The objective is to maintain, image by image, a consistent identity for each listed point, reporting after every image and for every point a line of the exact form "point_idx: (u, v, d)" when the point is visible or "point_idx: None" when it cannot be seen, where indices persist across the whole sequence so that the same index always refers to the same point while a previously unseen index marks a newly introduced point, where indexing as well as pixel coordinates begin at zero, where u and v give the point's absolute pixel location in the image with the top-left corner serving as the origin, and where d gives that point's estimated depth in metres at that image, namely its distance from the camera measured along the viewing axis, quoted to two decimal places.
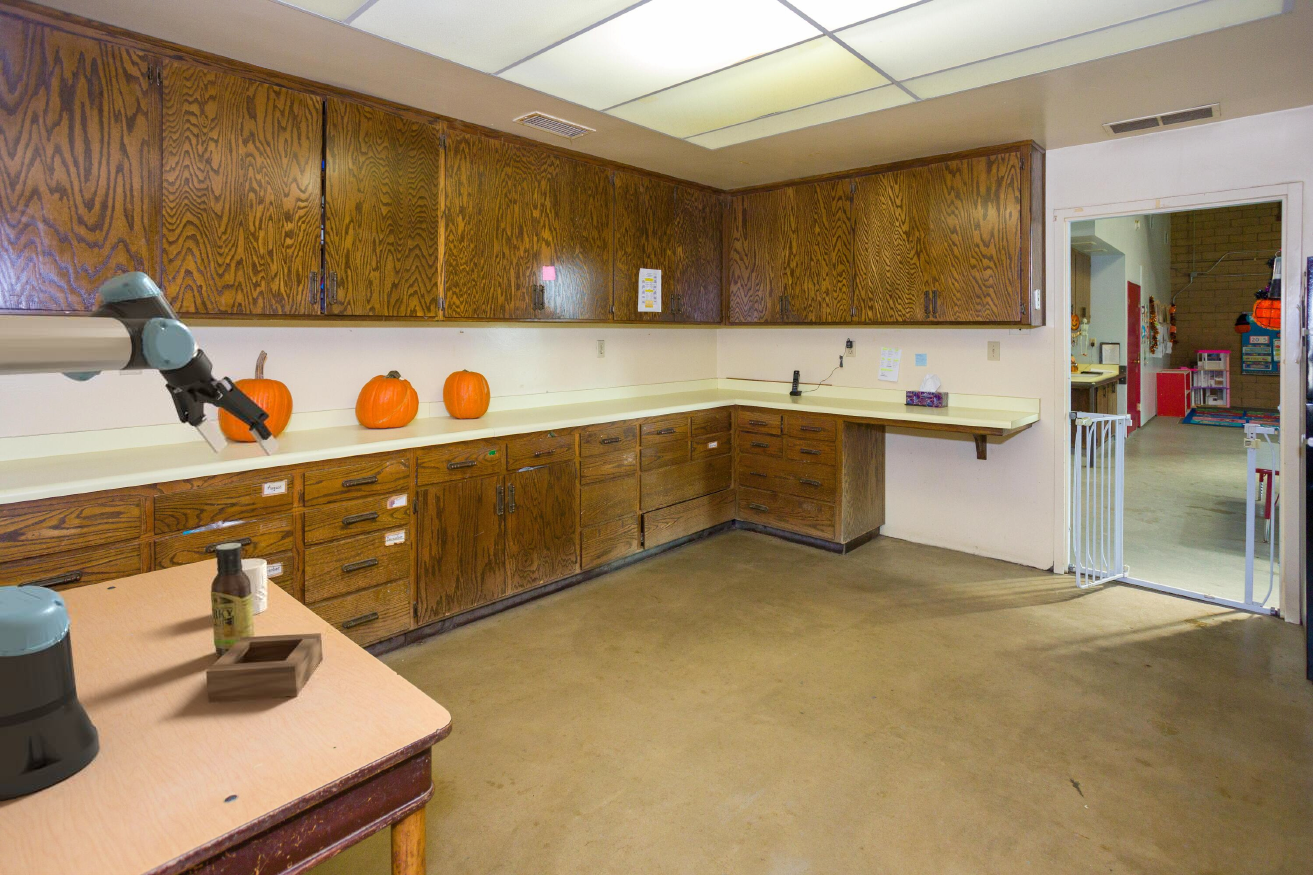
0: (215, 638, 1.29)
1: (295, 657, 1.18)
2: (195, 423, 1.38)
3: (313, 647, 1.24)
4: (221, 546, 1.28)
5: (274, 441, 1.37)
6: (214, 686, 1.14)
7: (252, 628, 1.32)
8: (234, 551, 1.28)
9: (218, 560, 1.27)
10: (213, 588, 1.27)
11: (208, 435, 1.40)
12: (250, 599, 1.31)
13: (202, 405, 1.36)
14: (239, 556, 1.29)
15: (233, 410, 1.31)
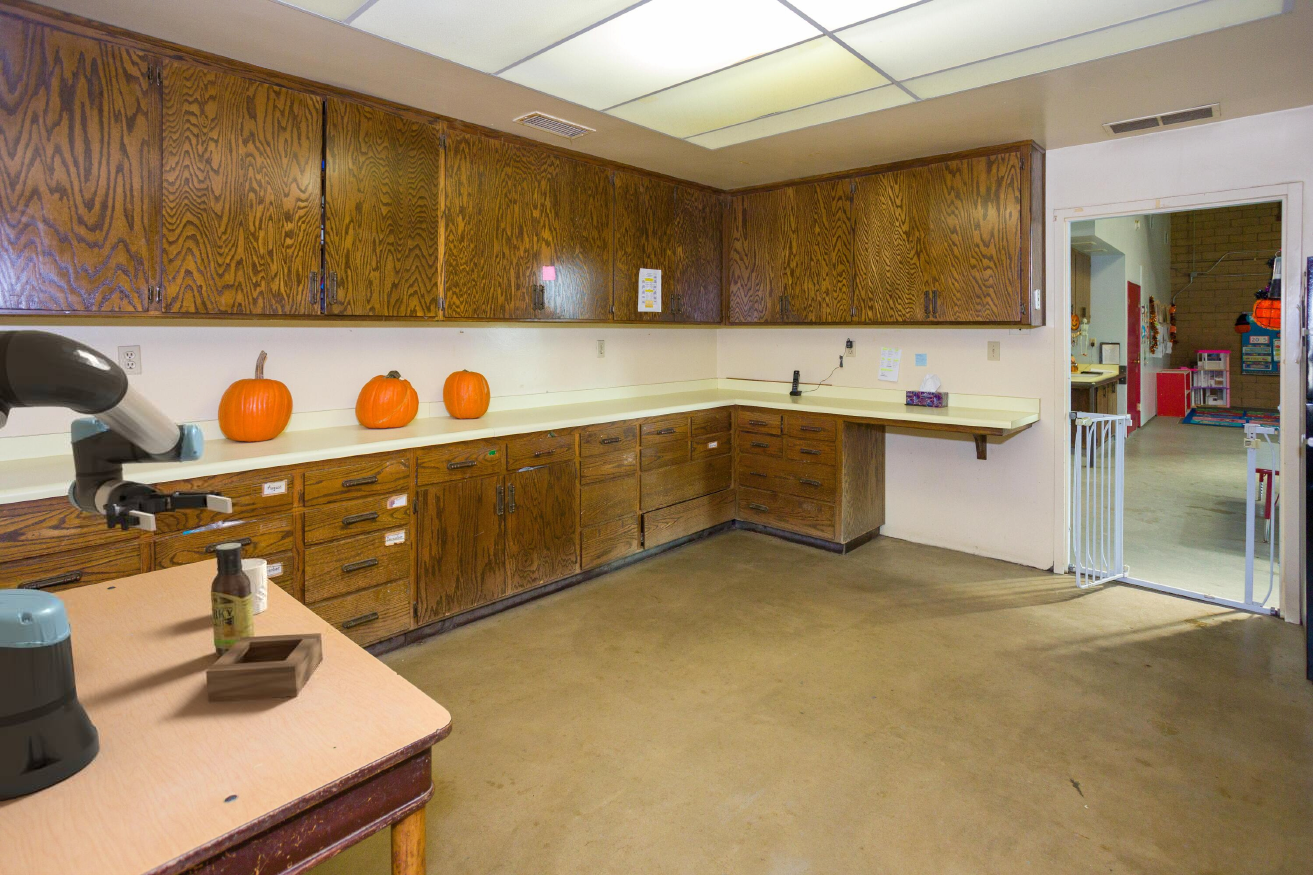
0: (215, 638, 1.29)
1: (295, 657, 1.18)
2: (128, 513, 1.29)
3: (313, 647, 1.24)
4: (221, 546, 1.28)
5: None
6: (214, 686, 1.14)
7: (252, 628, 1.32)
8: (234, 551, 1.28)
9: (218, 560, 1.27)
10: (213, 588, 1.27)
11: None
12: (250, 599, 1.31)
13: None
14: (239, 556, 1.29)
15: None
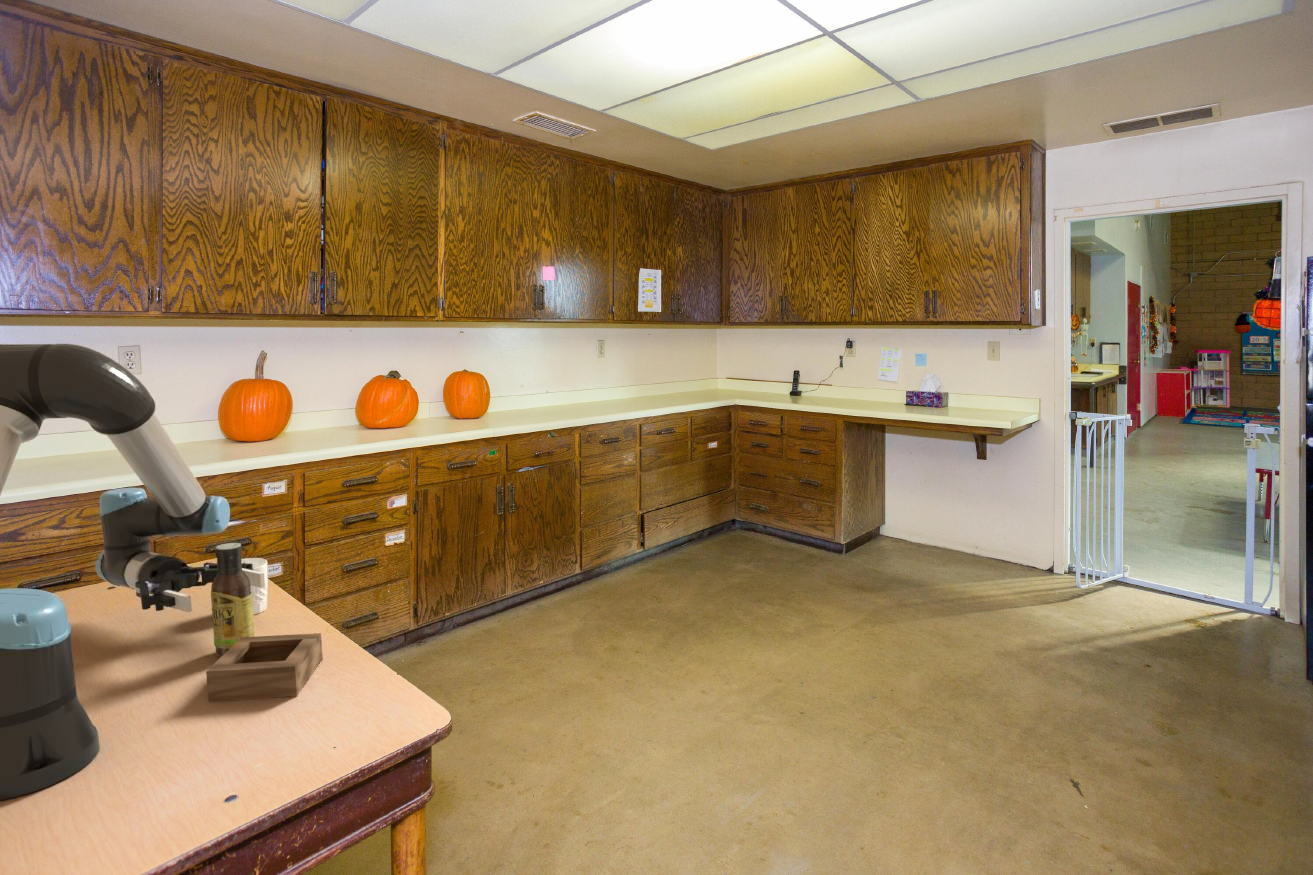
0: (215, 638, 1.29)
1: (295, 657, 1.18)
2: (162, 592, 1.28)
3: (313, 647, 1.24)
4: (221, 546, 1.28)
5: None
6: (214, 686, 1.14)
7: (252, 628, 1.32)
8: (234, 551, 1.28)
9: (218, 560, 1.27)
10: (213, 588, 1.27)
11: None
12: (250, 599, 1.31)
13: None
14: (239, 556, 1.29)
15: None
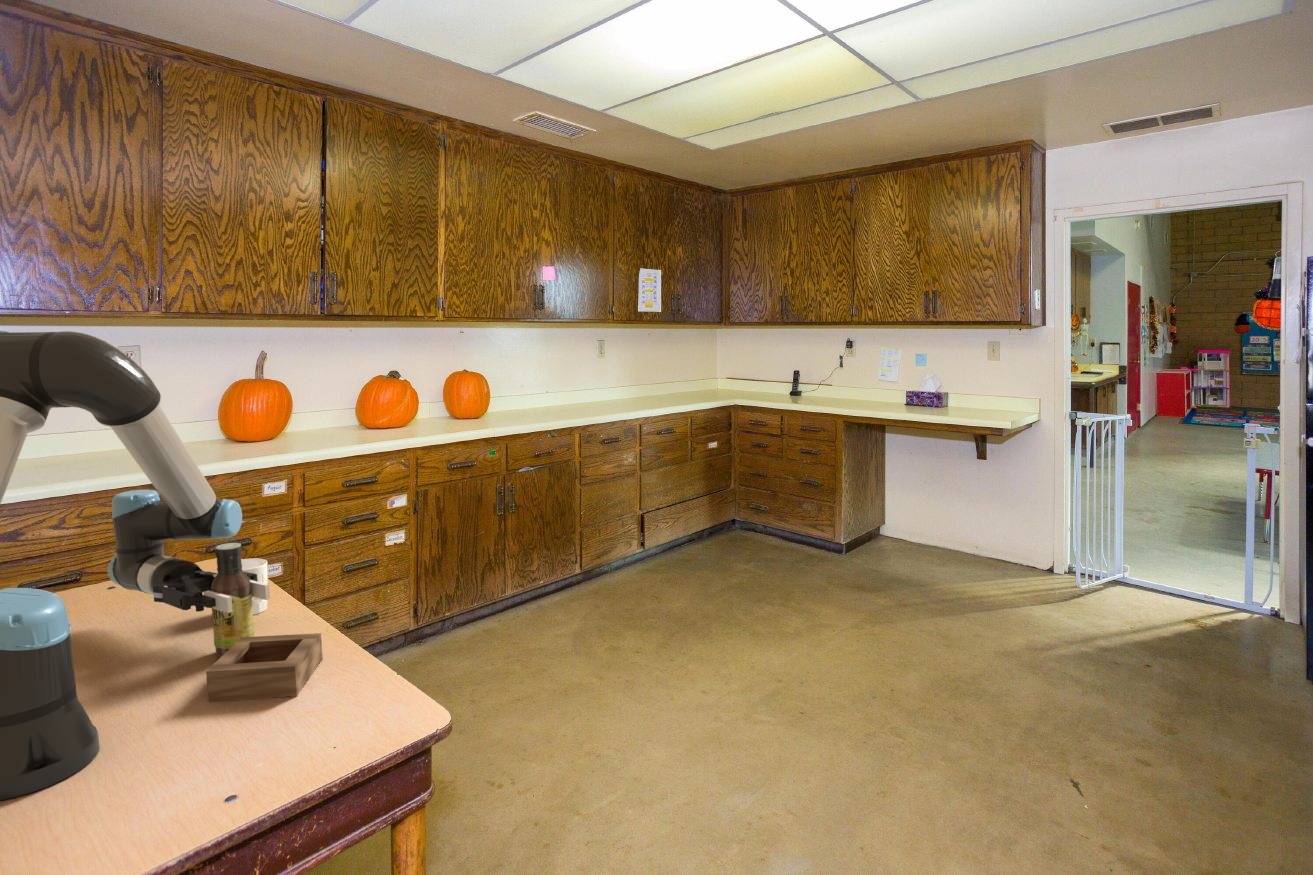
0: (215, 638, 1.29)
1: (295, 657, 1.18)
2: None
3: (313, 647, 1.24)
4: (221, 546, 1.28)
5: None
6: (214, 686, 1.14)
7: (252, 628, 1.32)
8: (234, 551, 1.28)
9: (218, 560, 1.27)
10: (213, 588, 1.27)
11: None
12: (250, 599, 1.31)
13: None
14: (239, 556, 1.29)
15: None
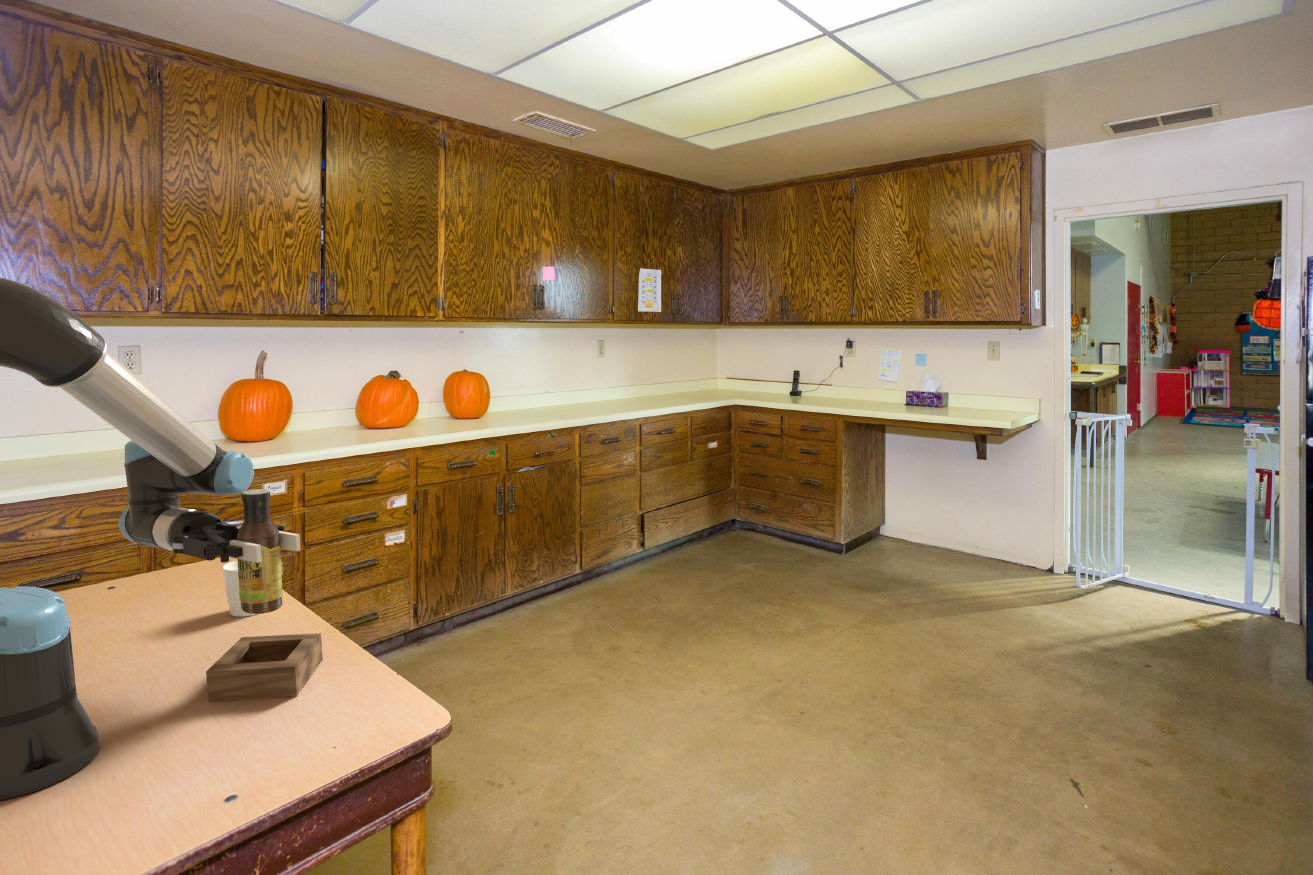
0: (241, 592, 1.18)
1: (295, 657, 1.18)
2: (228, 542, 1.17)
3: (313, 647, 1.24)
4: (248, 492, 1.18)
5: None
6: (214, 686, 1.14)
7: (281, 582, 1.21)
8: (263, 496, 1.17)
9: (245, 506, 1.17)
10: (240, 537, 1.16)
11: None
12: (279, 550, 1.20)
13: None
14: (268, 503, 1.18)
15: None
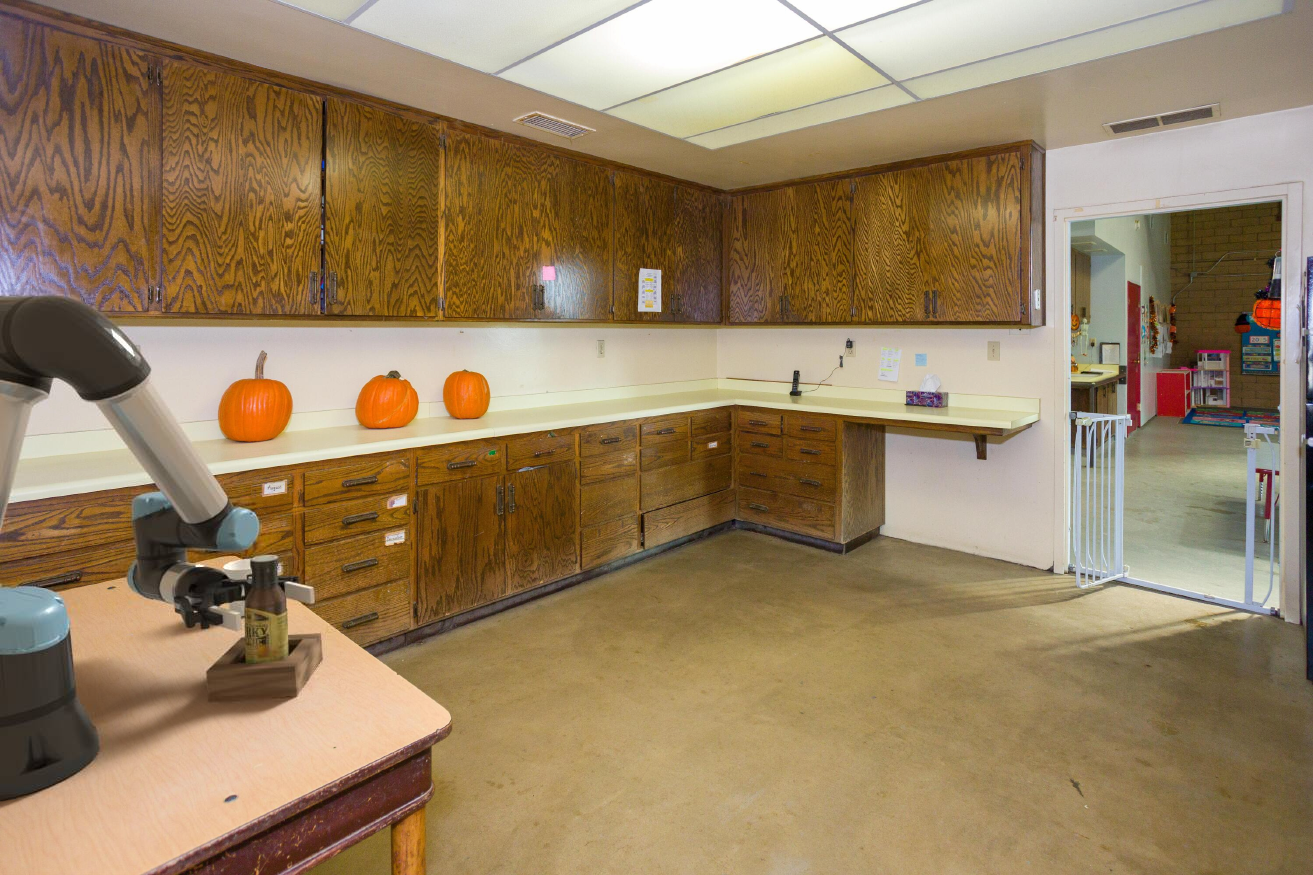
0: (247, 659, 1.18)
1: (295, 657, 1.18)
2: (208, 609, 1.15)
3: (313, 647, 1.24)
4: (257, 558, 1.18)
5: None
6: (214, 686, 1.14)
7: (287, 648, 1.21)
8: (271, 563, 1.18)
9: (253, 573, 1.17)
10: (247, 603, 1.17)
11: None
12: (286, 616, 1.20)
13: None
14: (276, 569, 1.19)
15: None
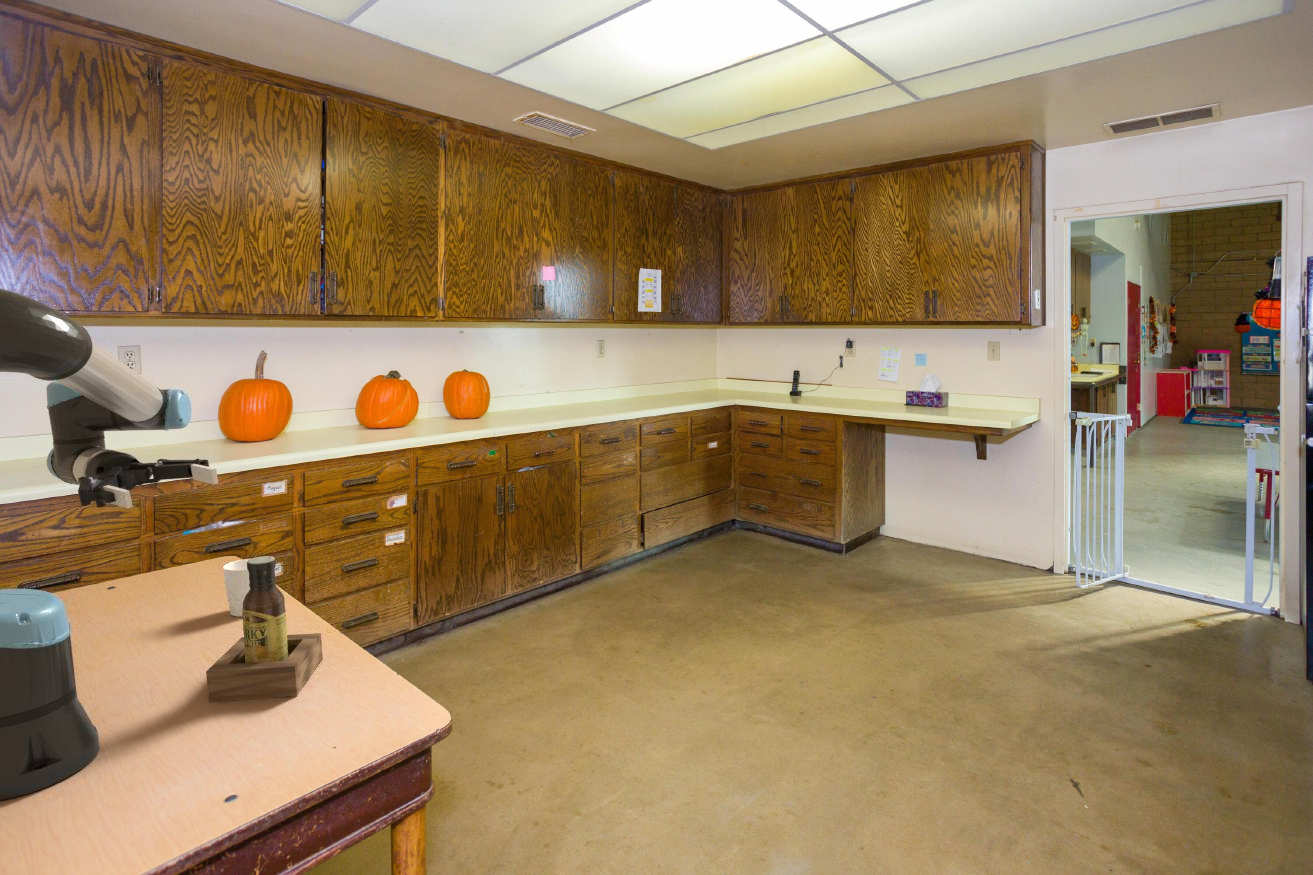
0: (247, 660, 1.18)
1: (295, 657, 1.18)
2: (103, 488, 1.18)
3: (313, 647, 1.24)
4: (253, 560, 1.18)
5: None
6: (214, 686, 1.14)
7: (286, 649, 1.21)
8: (268, 565, 1.17)
9: (250, 575, 1.17)
10: (245, 605, 1.17)
11: None
12: (284, 617, 1.20)
13: None
14: (273, 571, 1.18)
15: None
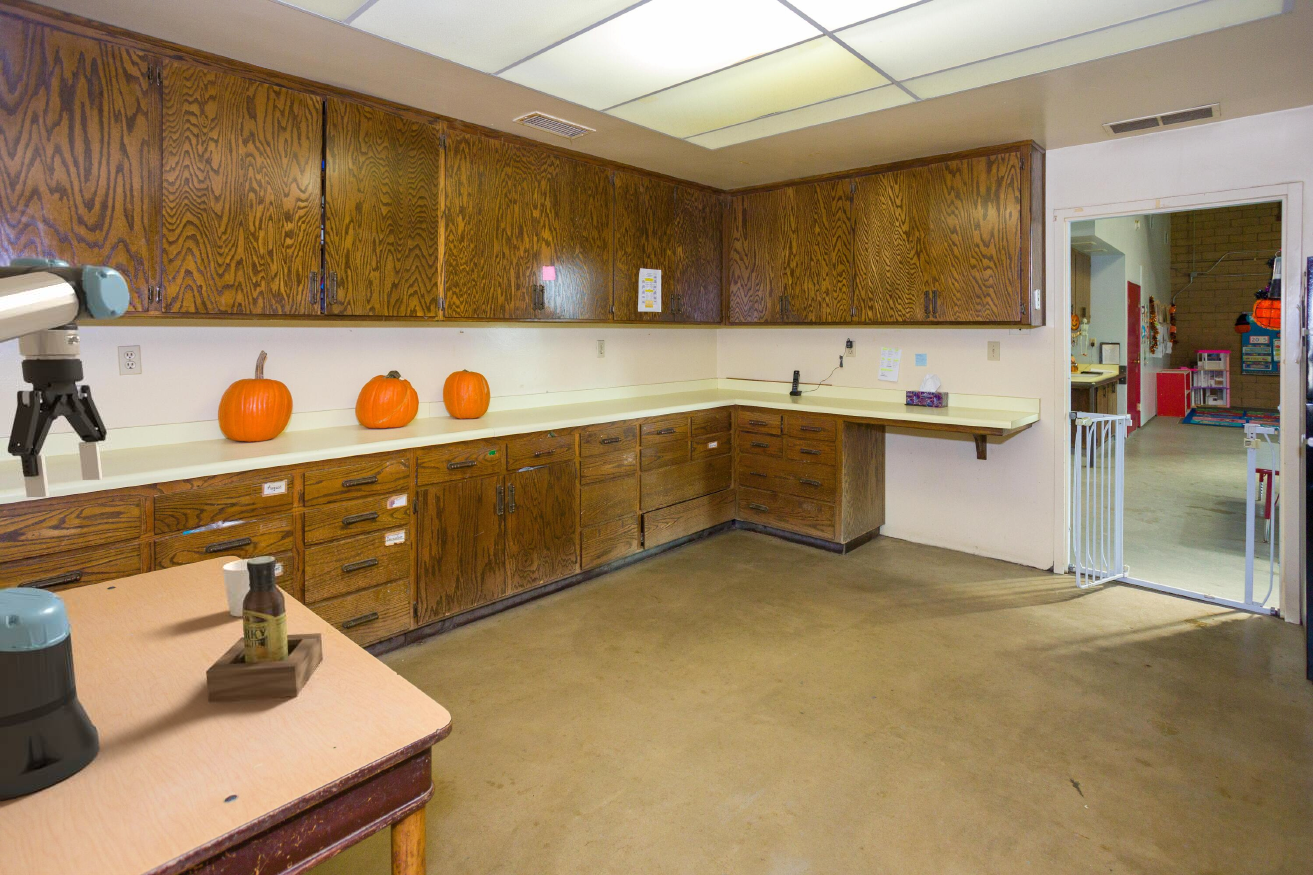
0: (247, 660, 1.18)
1: (295, 657, 1.18)
2: (83, 439, 1.26)
3: (313, 647, 1.24)
4: (253, 560, 1.18)
5: (43, 487, 1.13)
6: (214, 686, 1.14)
7: (286, 649, 1.21)
8: (268, 565, 1.17)
9: (250, 575, 1.17)
10: (245, 605, 1.17)
11: (84, 457, 1.26)
12: (284, 617, 1.20)
13: (83, 423, 1.23)
14: (273, 571, 1.18)
15: None
